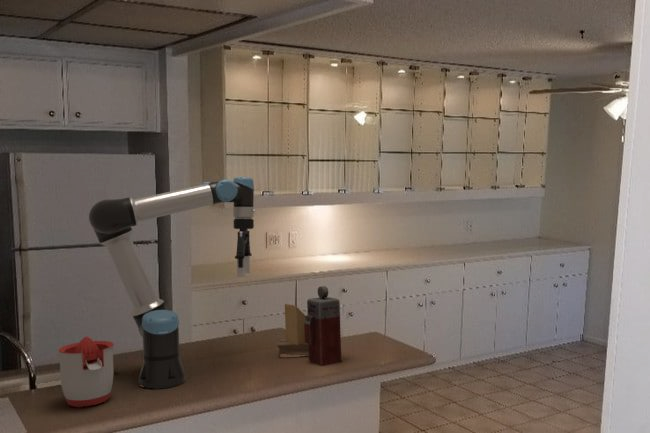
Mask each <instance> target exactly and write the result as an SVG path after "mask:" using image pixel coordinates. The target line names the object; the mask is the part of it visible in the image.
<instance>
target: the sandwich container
mask: <svg viewBox="0 0 650 433" xmlns="http://www.w3.org/2000/svg"><path fill="white" fill-rule="evenodd" d="M305 318H306V314H305V313H304V312H303V311H302V310H301V309H300V308H299V307H298V306H297V305H294V304H290V303H284V319H285V320H284V321H285V323H284V324H285V325H284V326H285V338H286V342H289V343H292V344H296V345H300V344H305V330H304V322H305Z"/></svg>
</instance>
